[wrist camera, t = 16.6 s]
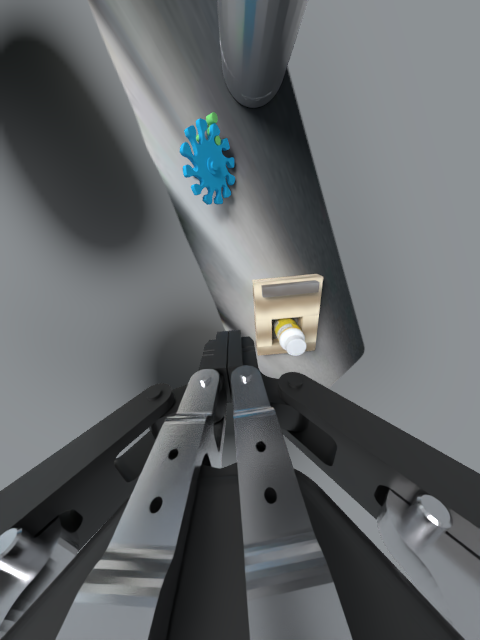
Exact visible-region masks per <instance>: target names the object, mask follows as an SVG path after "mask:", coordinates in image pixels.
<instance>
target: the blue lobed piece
mask: <svg viewBox="0 0 480 640" xmlns="http://www.w3.org/2000/svg"><path fill="white" fill-rule="evenodd" d="M217 120H218V118H217V115H216V113H215V112H213V113H211V114H210V115H208V116H207V117H206V121H205V120H204V119H201V118H200V119H198V120H196V127H197V130H198V134H199V135H197V136H196V129H195V127H194V126H193V125H192V126H190V127H188V128H186V129H185V130H184V132H185V135H186V137H187V138H188V139H189V141H190V143H191V145H192V147H193V151H194V155H193V154H192V152H191V148H190V146H189V144H188V143H187V142H185V143H183V144H182V145H181V148H180V153H181V155H182V156H184V157H187V158H188V159H189V160H190V161H191V162H192V164H193V165H194V167H195V168H192V167H191V166H190V165H185V166H183V173H184V176H185V177H191V176H194V177H196V178H198V179H199V180H200V185H199V184H194V185H192V186H191V189H192V191H193V193H194V195H199V194H200V193H201V191H202V189H203V188H204V187H206V188H207V189H208V194H207V195H204V196H203V201H204V202H205V203H206V204H207V205H208V204H211V203H212V195H213V192H214V191H216V196H215V198H214V203H215V204H223V199H222V196H221V187H223V193H222V194H223V197H224V198H227V197H229V196H230V195H231V191H230V190H229V188H228V186H227V183H228V185H233V184H234V182H235V177H234V176H233V175H231V174H230V173H229V172H228V170H227V168H226V165H227V167H228V168H233V167H234V158H233V157H231V158H226V157H225V156H223V154H222V150H223V151H226V150H228V149H229V148H230V146H229V142H228V139H227V138H225V139H223V140H221V139H220V137H219V136H218V135H219V134H220V130H219V128H218V126H217V125H216V124H215V123H217ZM207 124H208V125H207ZM196 139H197V141H198V142H199V144H198V143H197V141H196ZM225 177H226V178H225ZM226 179H227V183H226Z"/></svg>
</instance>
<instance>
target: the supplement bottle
mask: <svg viewBox="0 0 480 640" xmlns="http://www.w3.org/2000/svg"><path fill="white" fill-rule="evenodd" d="M273 328H274V331H275V334H276V336H277V338H278V341H279V343H280V345H281V347H282V348H283V349H285V350H287V352H288V353H289V354H290V355H292V356H298V355H301V354H302V353H303V352H304V351H305V350H306V343H305V336H304V334H303V332H302V331H301V329H300V328H299V326H298V325H297V324H296V322H295V321H294V320H293V319H292V318H283V319H277V320H276V321H275V323H274V326H273Z"/></svg>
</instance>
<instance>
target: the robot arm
mask: <svg viewBox="0 0 480 640" xmlns="http://www.w3.org/2000/svg"><path fill="white" fill-rule="evenodd" d="M307 2H308V0H217V5H218V19H219V33H220V48H221V60H222V71H223V76H224V80H225V82H226V85H227V88H228V90H229V91H230V93H231V95H232V96H233V97H234V98H235V99H236V100H237V101H238V102H239V103H240V104H242V105H244V106H246V107H250V108H257V107H260V106H263V105H265V104H266V103H268V102H269V101H270V100H271V99H272V98H273V97H274V96H275V94H276V93H277V92H278V90H279V88H280V86H281V83H282V81H283V78H284V74H285V71H286V68H287V65H288V62H289V59H290V56H291V53H292V50H293V47H294V44H295V40H296V37H297V34H298V31H299V27H300V25H301V22H302V18H303V15H304V12H305V9H306V6H307ZM231 399H232V400H233V404H234V405H233V406H234V429H235V442H236V453H237V463H234V464H232V465H230V466H227V467H224V468H222V463H221V461H222V449H223V441H224V432H225V424H226V406H227V403H229V402H231ZM147 428H149V429H150V431H149V432H148V433H147V434H146V435H145V436H143V437H142V438H141V439H140V440H139V441H138V442H137V443H136V444H134V445H133V446H132V447H131V448H130V449H129V450H128V451H126V452H125V453H124V454H123V455H122V456H120V457H119V458H116V457H117V455H118V454H119V453H120V452H121V451H122V450H123V449H124V448H125V447H127V446H128V445H129V444H130V443H131V442H132V441H133V440H134V439H136V438H137V437H138V436H139V435H140V434H142V433H143V432H144V431H145V430H146V429H147ZM283 435H285V436H286V437H287V438H288V439H289V440H290V441H291V442H292V443H293V444H294V445H296V447H298V448H299V449H300V450H301V451H302V452H303V453H304V454H305V455H306V456H307V457H309V458H310V459H311V460H312V461H313V462H314V463H315V464H316V465H317V466H318V467H319V468H321V469H322V470H323V471H324V472H325V473H326V474H327V475H328V476H329V477H330V478H332V479H333V480H334V481H335V482H336V483H337V484H338V485H339V486H340V487H341V488H342V489H344V490H345V491H346V492H347V493H348V494H349V495H350V496H351V497H352V498H354V499H355V500H356V501H357V502H358V503H359V504H360V505H361V506H362V507H363V508H365V510H367V511H368V512H369V513H370V514H371V515H372V516H373V517H374V518H375V519H377V526H378V529H379V533H380V536H381V538H382V540H383V543H384V544H385V546H386V548H387V550H388V551H389V553H390V554H391V555H392V557H393V558H394V559H395V560H396V562H397V563H398V564H399V565H400V566H401V567H402V569H403V570H404V571H405V572H406V574H407V575H408V576H409V578H410V579H411V581H412V582H413V584H414V585H415V586H414V585H413V584H412V583H411V582H410V581H409V580H408V579H407V578H406V577H405V576H404V575H403V574H402V573H401V572H400V571H399V570H398V569H397V568H396V567H395V565H394V564H392V563H391V561H390V560H389V559H388V558H387V557H386V556H385V555H384V554H383V553H382V552H381V551H380V550H379V549H378V548H377V547H376V546H375V544H374V543H373V542H372V541H371V540H370V539H369V538H368V537H367V536H366V535H365V534H364V533H363V532H362V531H361V530H360V529H359V528H358V527H357V526H356V525H355V524H354V523H353V521H352V520H351V519H350V518H349V517H348V516H347V515H346V514H345V513H344V512H343V511H342V510H341V509H340V508H339V507H338V506H337V505H336V504H335V502H333V500H332V499H331V498H330V497H329V496H328V495H327V494H326V493H325V492H324V491H323V490H322V489H321V488H320V487H319V486H318V485H317V484H316V483H315V482H314V481H312V480H311V479H310V478H309V477H307V476H306V475H305V474H303V473H302V472H300V471H298V470H296V469H294V468H293V466H292V462H291V459H290V457H289V453H288V450H287V447H286V444H285V441H284V438H283ZM115 458H116V459H115ZM107 520H108V521H107ZM106 521H107V522H106ZM105 522H106V523H105ZM104 523H105V524H104ZM98 530H99V531H98ZM97 531H98V532H97ZM96 532H97V533H96ZM95 533H96V534H95ZM94 534H95V535H94ZM93 535H94V536H93ZM92 536H93V537H92ZM91 537H92V538H91ZM90 538H91V539H90ZM89 539H90V541H89V542H88V543H87V541H88V540H89ZM86 543H87V544H86ZM85 544H86V545H85ZM84 545H85V546H84ZM83 546H84V547H83ZM82 547H83V548H82ZM81 548H82V549H81ZM80 549H81V551H80V552H79V553H78V554H77V552H78V551H79V550H80ZM0 640H480V474H479V473H477V472H475V471H474V470H472V469H470V468H468V467H467V466H465V465H463V464H461V463H459V462H458V461H456V460H454V459H452V458H451V457H449V456H447V455H445V454H443V453H442V452H440V451H438V450H436V449H435V448H433V447H431V446H429V445H427V444H426V443H424V442H422V441H420V440H419V439H417V438H415V437H413V436H411V435H410V434H408V433H406V432H404V431H402V430H401V429H399V428H397V427H395V426H394V425H392V424H390V423H388V422H387V421H385V420H383V419H381V418H379V417H378V416H376V415H374V414H372V413H371V412H369V411H367V410H365V409H363V408H362V407H360V406H358V405H356V404H355V403H353V402H351V401H349V400H347V399H346V398H344V397H342V396H340V395H339V394H337V393H335V392H333V391H331V390H330V389H328V388H326V387H324V386H323V385H321V384H319V383H317V382H316V381H314V380H312V379H310V378H308V377H307V376H305V375H303V374H300V373H297V372H288V373H285V374H283V375H282V376H281V377H280V378H279V379H275V378H270V377H267V376H265V375H263V374H262V373H261V372H260V370H259V368H258V363H257V358H256V352H255V347H254V341H253V340H252V339H251V338H250V337H241V330H232V331H222V332H217V335H216V340H209V342H208V343H207V344H206V345H205V347H204V352H203V356H202V359H201V363H200V367H199V371H198V372H196V373H195V374H194V375H193V376H192V377H191V379H190V381H189V383H188V384H187V385H185V386H182V387H179V388H176V389H173V390H172V389H171V387H170V386H169V385H168V384H164V383H162V384H161V383H160V384H156V385H153V386H151V387H149V388H147V389H146V390H145V391H143V392H142V393H140V394H139V395H137V396H136V397H134V398H133V399H132V400H130V401H129V402H128V403H126V404H124V405H123V406H122V407H120V408H119V409H117V410H116V411H114V412H113V413H112V414H110V415H109V416H107V417H106V418H105V419H103V420H102V421H100V422H99V423H97V424H96V425H94V426H93V427H92V428H90V429H89V430H87V431H86V432H84V433H83V434H82V435H80V436H79V437H77V438H76V439H74V440H73V441H72V442H70V443H69V444H67V445H66V446H65V447H63V448H62V449H60V450H59V451H57V452H56V453H54V454H53V455H52V456H50V457H49V458H47V459H46V460H44V461H43V462H42V463H40V464H39V465H37V466H36V467H34V468H33V469H31V470H30V471H29V472H27V473H26V474H24V475H23V476H21V477H20V478H19V479H17V480H16V481H14V482H13V483H12V484H10V485H9V486H7V487H6V488H4V489H3V490H1V491H0Z"/></svg>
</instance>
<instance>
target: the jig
mask: <svg viewBox="0 0 480 640" xmlns="http://www.w3.org/2000/svg"><path fill="white" fill-rule="evenodd" d="M322 282H323V277H322V276H320V275H318V274H311V275H300V276H290V277H279V278H269V279H259V280H253V296H254V313H255V329H256V346H257V353H258V356H259V355H270V354H281V353H288V352H287V350H285V349H283V348H282V347H281V345H280V343H279V341H278V338H277V339H272V319H283V318H294V317H298V326H299V328H300V329H301V331H302V332H303V334H304V336H305V343H306V350H305V351H313V350H315V345H316V336H317V327H318V318H319V309H320V300H321V291H322Z"/></svg>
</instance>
